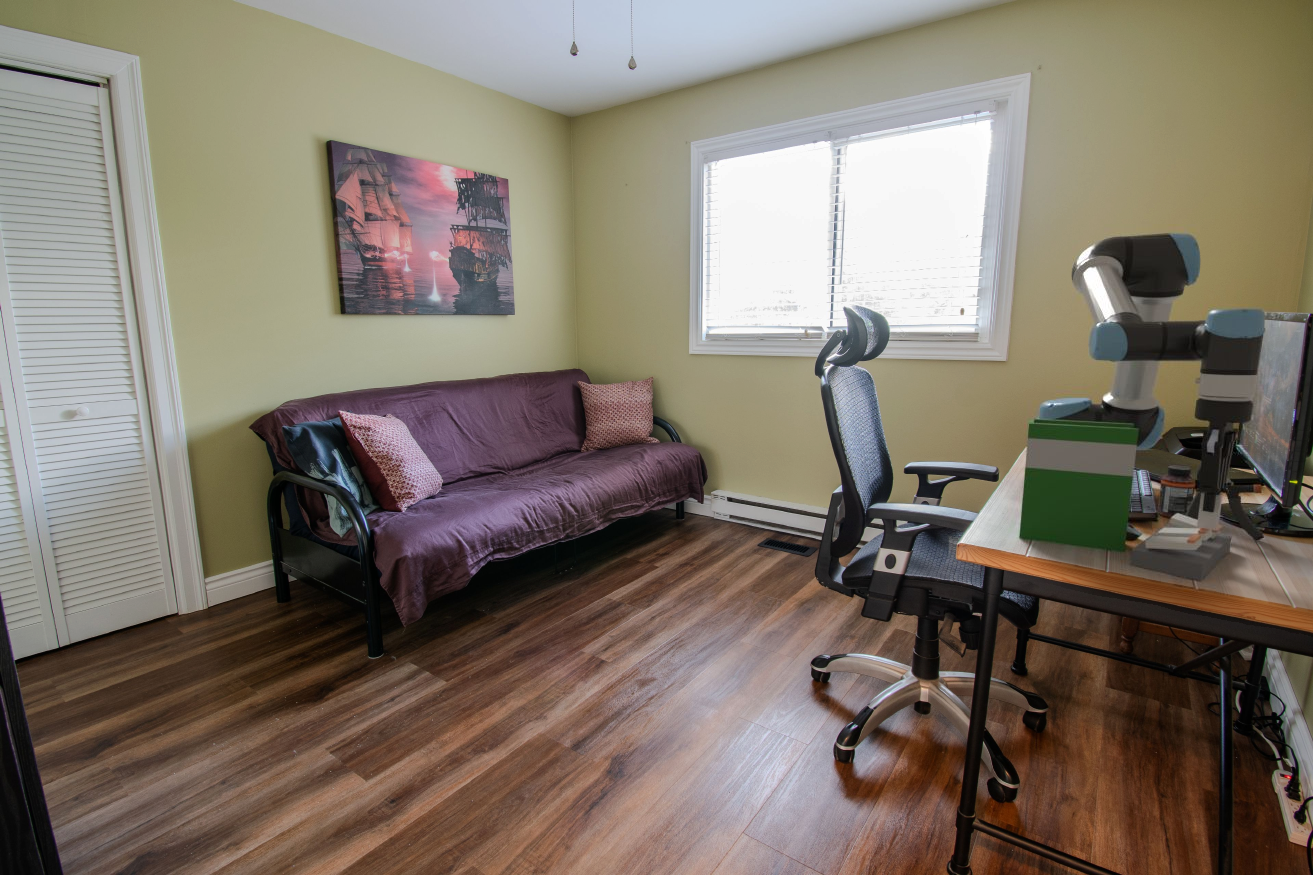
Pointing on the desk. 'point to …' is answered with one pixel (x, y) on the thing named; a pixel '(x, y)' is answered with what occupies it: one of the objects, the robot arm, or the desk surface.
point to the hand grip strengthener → (1231, 506)
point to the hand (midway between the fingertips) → (1207, 527)
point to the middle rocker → (1185, 532)
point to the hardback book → (1078, 483)
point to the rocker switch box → (1182, 557)
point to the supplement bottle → (1176, 491)
